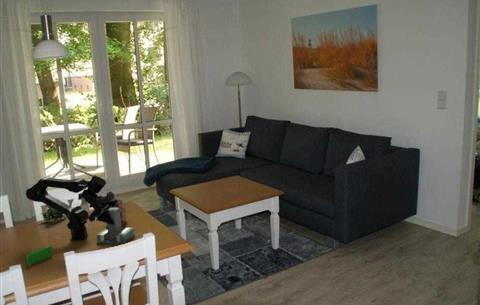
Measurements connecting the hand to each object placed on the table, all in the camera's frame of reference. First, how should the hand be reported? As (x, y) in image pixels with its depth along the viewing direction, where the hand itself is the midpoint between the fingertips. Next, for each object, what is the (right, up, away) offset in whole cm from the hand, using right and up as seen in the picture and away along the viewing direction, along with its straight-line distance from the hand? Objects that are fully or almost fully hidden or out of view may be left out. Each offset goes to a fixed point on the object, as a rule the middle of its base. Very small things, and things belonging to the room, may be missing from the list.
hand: (116, 222), depth 201 cm
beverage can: (-6, -5, +24) cm, 25 cm away
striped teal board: (-1, -8, +2) cm, 9 cm away
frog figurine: (-45, -5, +36) cm, 58 cm away
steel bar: (-1, -7, +2) cm, 7 cm away
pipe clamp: (-29, -14, -16) cm, 36 cm away
